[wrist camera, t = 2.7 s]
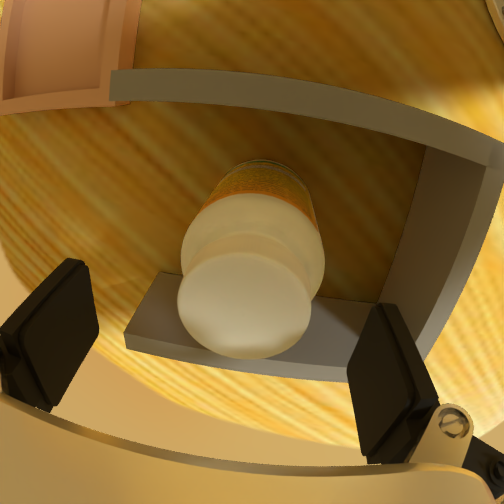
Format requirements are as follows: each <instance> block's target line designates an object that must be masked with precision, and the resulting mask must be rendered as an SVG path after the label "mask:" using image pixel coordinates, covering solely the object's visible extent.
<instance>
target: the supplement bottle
mask: <svg viewBox="0 0 504 504" xmlns="http://www.w3.org/2000/svg"><path fill="white" fill-rule="evenodd" d="M181 267H182V273H183V279H182V282H181V284H180V287H179V290H178V296H177V306H178V312H179V316H180V319H181V321H182V323H183V325H184V327H185V328H186V330H187V331H188V333H189V334H190V335H191V336H192V337H193V338H194V339H195V340H196V341H197V342H199V343H200V344H201V345H203V346H204V347H206V348H208V349H209V350H211V351H213V352H215V353H218V354H220V355H223V356H227V357H231V358H234V359H263V358H268V357H271V356H274V355H277V354H280V353H282V352H284V351H285V350H287V349H289V348H290V347H292V346H293V345H294V344H295V343H296V342H298V341H299V339H300V338H301V337H302V336H303V334H304V333H305V331H306V329H307V327H308V324H309V321H310V317H311V300H312V299H313V298H314V296H315V295H316V293H317V291H318V289H319V287H320V285H321V282H322V279H323V275H324V269H325V255H324V249H323V244H322V240H321V237H320V233H319V229H318V225H317V220H316V216H315V212H314V208H313V204H312V200H311V196H310V193H309V190H308V188H307V186H306V185H305V183H304V182H303V180H302V179H301V178H300V176H298V175H297V174H296V173H295V172H294V171H293V170H291V169H290V168H288V167H287V166H285V165H283V164H280V163H278V162H275V161H271V160H251V161H247V162H244V163H241V164H239V165H237V166H235V167H234V168H233V169H231V170H230V171H229V172H228V173H227V174H226V175H225V176H224V177H223V178H222V179H221V181H220V182H219V184H218V185H217V186H216V188H215V189H214V191H213V192H212V194H211V195H210V197H209V198H208V199H207V201H206V202H205V203H204V205H203V206H202V208H201V209H200V211H199V212H198V214H197V215H196V217H195V218H194V220H193V221H192V223H191V224H190V226H189V227H188V230H187V232H186V234H185V237H184V240H183V243H182V249H181Z"/></svg>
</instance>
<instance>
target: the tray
mask: <svg viewBox="0 0 504 504" xmlns="http://www.w3.org/2000/svg"><path fill="white" fill-rule="evenodd" d="M141 3H142V0H5V2H4V7H3V12H2V18H1V24H0V116H1V115H8V114H15V113H23V112H32V111H41V110H52V109H65V108H82V107H111V106H121V105H127V104H130V101H109V90H110V76H111V70H123V69H133V61H134V52H135V44H136V36H137V29H138V22H139V15H140V9H141Z"/></svg>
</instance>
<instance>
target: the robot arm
mask: <svg viewBox="0 0 504 504" xmlns="http://www.w3.org/2000/svg"><path fill="white" fill-rule="evenodd" d="M485 1H486V4H487V7H488V10H489V13H490V15H491V17H492V19H493V22H494V24H495V27H496V29H497V31H498V33H499V35H500V37H501V39H502V40H503V42H504V0H485ZM98 334H99V324H98V320H97V315H96V309H95V304H94V298H93V293H92V287H91V280H90V274H89V268H88V266H86V265H85V263H84V261H82V260H78V259H72V258H67V259H65V260H64V261H63V262H62V263H61V264H60V265H59V266H58V267H57V268H56V269H55V270H54V271H53V272H52V273H51V274H50V275H49V276H48V277H47V278H46V279H45V280H44V281H43V282H42V283H41V284H40V285H39V286H38V287H37V288H36V289H35V290H34V291H33V292H32V293H31V294H30V295H29V296H28V297H27V299H26V300H25V301H24V302H23V303H22V304H21V305H20V306H19V307H18V308H17V309H16V310H15V311H14V312H13V314H12V315H11V316H10V317H9V318H8V319H7V320H6V321H5V323H4V324H3V325H2V326H1V327H0V504H504V454H502V453H501V452H499V451H498V450H496V449H494V448H493V447H491V446H489V445H488V444H486V443H485V442H483V441H481V440H480V439H478V438H477V437H475V436H473V430H474V426H473V421H472V419H471V417H470V415H469V414H468V413H467V412H466V410H464V409H463V408H461V407H460V406H458V405H455V404H449V403H447V404H442V405H440V403H439V401H438V398H439V397H438V395H437V392H436V390H435V387H434V385H433V383H432V380H431V378H430V376H429V373H428V371H427V369H426V366H425V364H424V362H423V360H422V357H421V355H420V353H419V351H418V349H417V346H416V344H415V342H414V340H413V338H412V336H411V334H410V331H409V329H408V327H407V325H406V323H405V321H404V319H403V317H402V315H401V313H400V311H399V309H398V307H397V305H396V304H391V303H381V302H380V303H378V304H377V305H376V306H373V307H372V308H371V310H370V312H369V315H368V317H367V320H366V322H365V325H364V327H363V330H362V332H361V334H360V337H359V339H358V342H357V344H356V346H355V349H354V351H353V353H352V355H351V358H350V360H349V362H348V365H347V370H346V373H347V378H348V383H349V388H350V393H351V398H352V404H353V409H354V414H355V420H356V425H357V431H358V436H359V442H360V448H361V453H362V455H363V456H366V458H367V464H380V463H381V465H366V466H331V467H330V466H329V467H314V466H282V465H267V464H256V463H246V462H237V461H228V460H221V459H214V458H208V457H202V456H195V455H190V454H185V453H180V452H175V451H169V450H165V449H160V448H156V447H152V446H147V445H144V444H140V443H136V442H132V441H129V440H125V439H122V438H118V437H115V436H111V435H108V434H105V433H102V432H99V431H96V430H92V429H90V428H87V427H83V426H81V425H78V424H75V423H72V422H70V421H67V420H64V419H62V418H59V417H57V416H54V415H52V414H49V413H50V412H51V410H52V408H53V406H57V405H58V404H59V402H60V401H61V399H62V397H63V395H64V393H65V392H66V390H67V388H68V386H69V384H70V383H71V381H72V379H73V377H74V376H75V374H76V372H77V370H78V368H79V367H80V365H81V363H82V362H83V360H84V358H85V357H86V355H87V353H88V352H89V350H90V348H91V347H92V345H93V343H94V342H95V340H96V338H97V337H98ZM35 407H37V408H38V409H37V408H35ZM40 409H41V410H40ZM42 410H43V411H42ZM44 411H45V412H44ZM47 412H48V413H47Z"/></svg>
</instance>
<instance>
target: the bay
mask: <svg viewBox="0 0 504 504" xmlns="http://www.w3.org/2000/svg"><path fill="white" fill-rule="evenodd" d="M109 101H167V102H189V103H204V104H217V105H228V106H238V107H247V108H255V109H263V110H270V111H277V112H284V113H291V114H297V115H303V116H308V117H314V118H319V119H324V120H329V121H334V122H339V123H344V124H348V125H353V126H357V127H362V128H366V129H370V130H374V131H378V132H382V133H386V134H389V135H393V136H397V137H400V138H404V139H407V140H411V141H414V142H418V143H421V144H424V145H427V146H426V151H425V155H424V159H423V163H422V167H421V171H420V175H419V179H418V183H417V186H416V190H415V194H414V197H413V201H412V204H411V207H410V211H409V214H408V217H407V221H406V224H405V227H404V230H403V233H402V236H401V239H400V242H399V245H398V248H397V251H396V254H395V257H394V260H393V263H392V265H391V268H390V271H389V274H388V276H387V279H386V282H385V284H384V287H383V290H382V292H381V295H380V297H379V300H378V302H377V304H378V303H380V302H381V303H391V304H396V305H397V307H398V309H399V311H400V313H401V315H402V317H403V319H404V321H405V323H406V325H407V327H408V329H409V331H410V334H411V336H412V338H413V340H414V342H415V344H416V346H417V349H418V351H419V353H420V355H421V357H422V360H423V362H424V360H425V358H426V357H427V355H428V353H429V352H430V350H431V348H432V347H433V345H434V343H435V342H436V340H437V338H438V336H439V335H440V333H441V331H442V329H443V328H444V326H445V324H446V322H447V320H448V318H449V316H450V315H451V313H452V311H453V309H454V307H455V305H456V303H457V301H458V299H459V297H460V295H461V293H462V291H463V288H464V286H465V284H466V282H467V280H468V278H469V276H470V273H471V271H472V269H473V266H474V264H475V262H476V259H477V257H478V255H479V252H480V250H481V247H482V245H483V242H484V240H485V237H486V234H487V232H488V229H489V226H490V223H491V221H492V218H493V215H494V212H495V209H496V206H497V203H498V200H499V196H500V193H501V190H502V186H503V183H504V143H502V142H500V141H498V140H496V139H494V138H492V137H490V136H487V135H485V134H483V133H480V132H478V131H476V130H473V129H471V128H469V127H466V126H464V125H461V124H459V123H456V122H454V121H451V120H448V119H446V118H443V117H440V116H438V115H435V114H432V113H429V112H426V111H423V110H420V109H417V108H414V107H411V106H408V105H405V104H401V103H398V102H395V101H391V100H388V99H384V98H381V97H377V96H373V95H369V94H365V93H361V92H357V91H353V90H349V89H345V88H340V87H335V86H331V85H326V84H321V83H315V82H310V81H304V80H298V79H292V78H286V77H279V76H272V75H264V74H255V73H246V72H235V71H223V70H207V69H178V68H151V69H123V70H111V76H110V90H109ZM182 279H183V276H181V275H175V274H169V273H163V272H159V273H158V275H157V276H156V278H155V280H154V281H153V283H152V285H151V286H150V288H149V290H148V291H147V293H146V295H145V296H144V298H143V300H142V301H141V303H140V305H139V307H138V308H137V310H136V312H135V313H134V315H133V317H132V319H131V320H130V322H129V324H128V326H127V327H126V329H125V331H124V338H125V343H126V348H127V349H130V350H134V351H138V352H142V353H147V354H151V355H155V356H160V357H164V358H169V359H174V360H178V361H183V362H188V363H194V364H199V365H204V366H210V367H216V368H221V369H228V370H234V371H240V372H247V373H254V374H262V375H269V376H278V377H286V378H296V379H306V380H317V381H330V382H345V383H348V378H347V373H346V370H347V365H348V362H349V360H350V358H351V355H352V353H353V351H354V349H355V346H356V344H357V342H358V339H359V337H360V334H361V332H362V330H363V327H364V325H365V322H366V320H367V317H368V315H369V312H370V310H371V308H372V307H373V306H376V305H377V304H376V303H368V302H359V301H351V300H343V299H335V298H328V297H320V296H314V298H313V299H312V300H311V317H310V321H309V324H308V327H307V329H306V331H305V333H304V334H303V336H302V337H301V338H300V339H299V341H298V342H296V343H295V344H294V345H293V346H292V347H290V348H289V349H287V350H285V351H284V352H282V353H280V354H277V355H274V356H271V357H268V358H263V359H234V358H231V357H227V356H223V355H220V354H218V353H215V352H213V351H211V350H209V349H208V348H206V347H204V346H203V345H201V344H200V343H199V342H197V341H196V340H195V339H194V338H193V337H192V336H191V335H190V334H189V333H188V331H187V330H186V328H185V327H184V325H183V323H182V321H181V319H180V316H179V312H178V306H177V296H178V290H179V287H180V284H181V282H182Z"/></svg>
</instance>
